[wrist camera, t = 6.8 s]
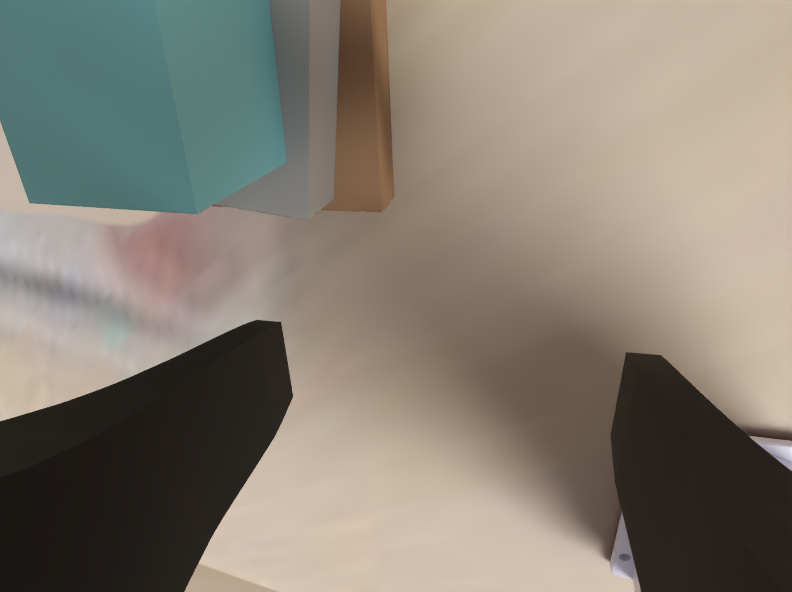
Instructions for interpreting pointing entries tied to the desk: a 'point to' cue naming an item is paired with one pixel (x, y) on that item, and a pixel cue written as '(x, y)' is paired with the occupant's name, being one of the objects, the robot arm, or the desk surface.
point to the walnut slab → (362, 110)
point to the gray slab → (301, 111)
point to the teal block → (139, 100)
